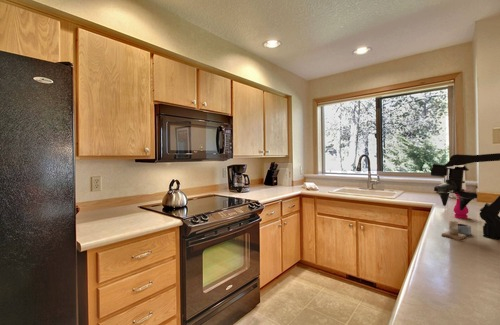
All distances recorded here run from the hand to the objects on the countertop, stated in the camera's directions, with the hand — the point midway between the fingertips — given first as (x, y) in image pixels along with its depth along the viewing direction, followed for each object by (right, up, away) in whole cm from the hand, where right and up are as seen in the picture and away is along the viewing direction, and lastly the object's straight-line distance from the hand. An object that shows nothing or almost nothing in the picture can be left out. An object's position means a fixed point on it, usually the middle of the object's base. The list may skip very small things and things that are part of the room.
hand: (452, 208), depth 127 cm
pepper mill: (+28, -11, +27) cm, 41 cm away
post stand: (-7, -12, -10) cm, 17 cm away
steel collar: (+1, -12, -4) cm, 13 cm away
